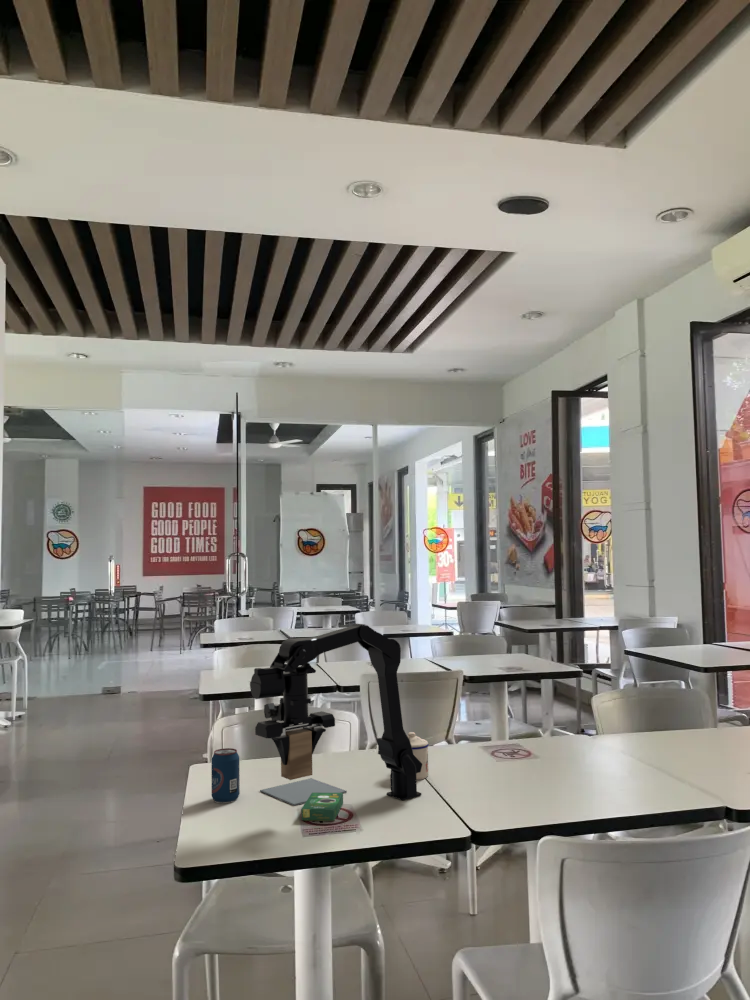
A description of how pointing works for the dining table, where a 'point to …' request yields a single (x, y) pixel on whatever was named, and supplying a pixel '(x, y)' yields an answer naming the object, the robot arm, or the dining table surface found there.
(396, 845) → the dining table surface
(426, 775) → the teacup with lid
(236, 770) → the soda can
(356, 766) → the dining table surface
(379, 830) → the dining table surface
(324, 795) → the coffee box
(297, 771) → the brown wooden block
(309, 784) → the slate mat
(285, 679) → the robot arm
